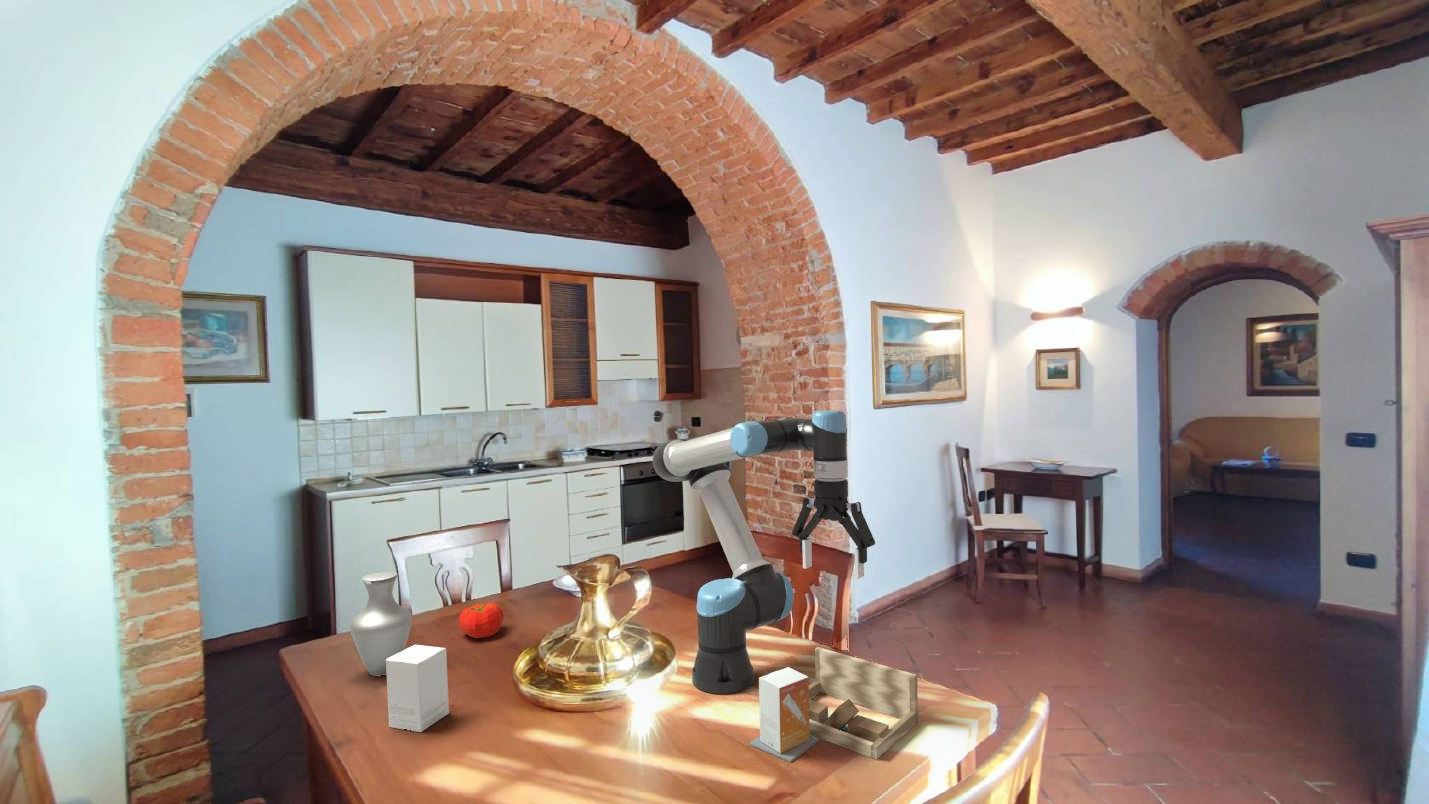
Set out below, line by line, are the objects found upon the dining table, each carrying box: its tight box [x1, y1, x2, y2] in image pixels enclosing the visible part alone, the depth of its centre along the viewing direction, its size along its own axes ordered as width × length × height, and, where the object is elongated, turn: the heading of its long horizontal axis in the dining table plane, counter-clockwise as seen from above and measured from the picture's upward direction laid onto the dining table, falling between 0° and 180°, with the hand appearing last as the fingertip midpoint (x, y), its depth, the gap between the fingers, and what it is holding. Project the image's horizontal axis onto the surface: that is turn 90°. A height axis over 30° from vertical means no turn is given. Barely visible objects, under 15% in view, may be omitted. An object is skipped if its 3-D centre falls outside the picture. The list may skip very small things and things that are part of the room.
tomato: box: [458, 602, 504, 639], centre depth 197 cm, size 14×13×9 cm
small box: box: [758, 666, 811, 753], centre depth 134 cm, size 8×6×13 cm
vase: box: [349, 571, 413, 675], centre depth 173 cm, size 14×14×25 cm
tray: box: [809, 646, 919, 761], centre depth 142 cm, size 24×18×10 cm
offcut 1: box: [809, 699, 829, 725], centre depth 143 cm, size 7×4×4 cm, turn 52°
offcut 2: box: [824, 699, 860, 731], centre depth 137 cm, size 6×4×3 cm
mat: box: [748, 734, 820, 763], centre depth 134 cm, size 10×10×1 cm
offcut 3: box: [847, 714, 890, 743], centre depth 134 cm, size 7×4×4 cm, turn 49°
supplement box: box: [386, 644, 450, 733], centre depth 147 cm, size 9×9×15 cm
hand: (832, 572), depth 152 cm, fingers open, 13 cm apart
